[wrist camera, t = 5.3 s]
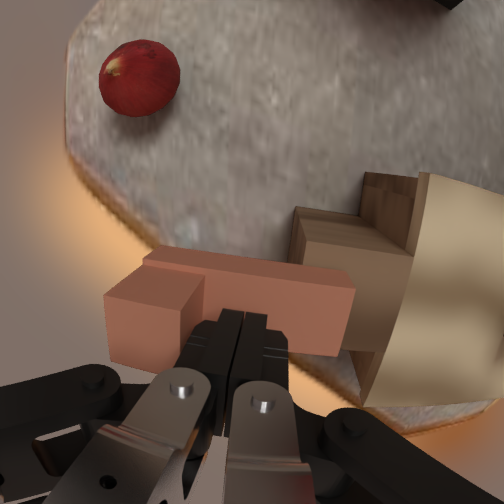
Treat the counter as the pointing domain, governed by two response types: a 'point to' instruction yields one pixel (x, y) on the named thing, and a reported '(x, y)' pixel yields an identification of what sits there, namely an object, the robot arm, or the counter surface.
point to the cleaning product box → (449, 3)
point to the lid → (447, 303)
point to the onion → (139, 78)
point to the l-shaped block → (221, 303)
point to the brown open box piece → (363, 259)
